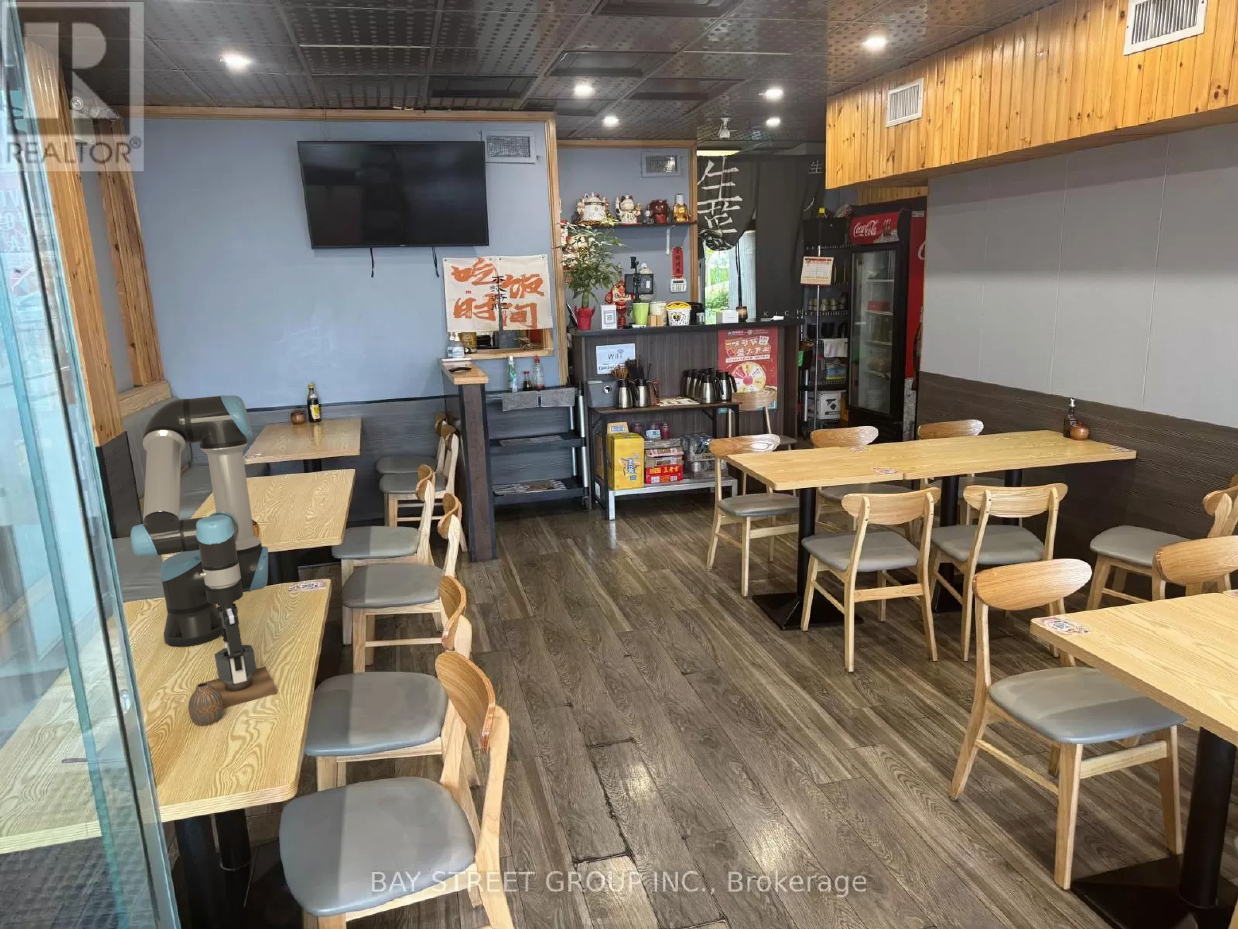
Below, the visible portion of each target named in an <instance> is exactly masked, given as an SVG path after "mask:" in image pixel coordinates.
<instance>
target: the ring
mask: <svg viewBox="0 0 1238 929" xmlns="http://www.w3.org/2000/svg"><path fill="white" fill-rule="evenodd" d="M242 648H243V652H244V656H243V659H244V666H245V673H246V677H247V676H249V675H250V674H252V673H253V672H254V671H256V669H257V665H256V658H255V656H256V655H255V651H254V650H255V649H254V648H253V645H250V644H242ZM227 656H228V650H227V648H225V647H224V648H222V649H220V650H219V651H217V652H216V653H214V660H215V666H216V673H217V676H218V679H220V680H231V681H232V680H233V676H232V669H231V663H230V659H227Z"/></svg>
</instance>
